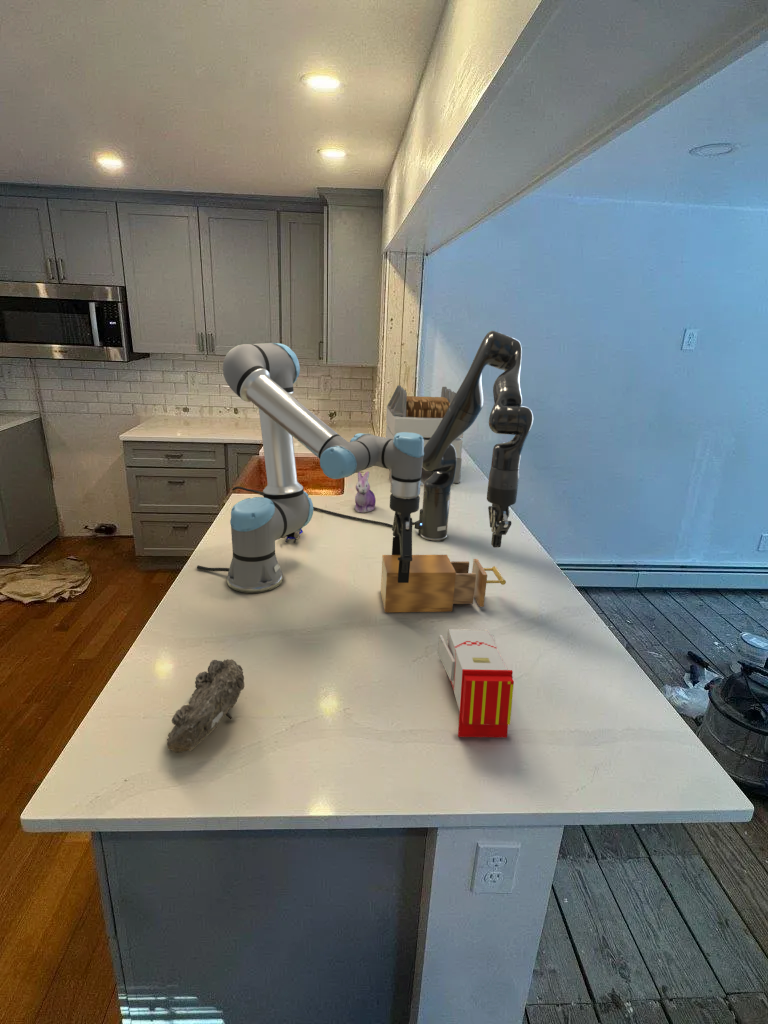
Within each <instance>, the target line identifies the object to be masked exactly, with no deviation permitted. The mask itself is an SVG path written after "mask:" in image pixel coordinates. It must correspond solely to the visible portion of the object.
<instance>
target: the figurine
mask: <svg viewBox="0 0 768 1024" xmlns="http://www.w3.org/2000/svg"><path fill="white" fill-rule="evenodd" d="M369 478H370V471H368V470H367V471H365V473H364V474H363V475H362V472H361V471H359V472H357V482H356V485H355V490H356V494H355V497H354V502H355V503H354V504H355V505H354V510H355V512H357V513H367V512H368V513H369V512H372V511H374V510H375V507H376V496H375V493H374V492H373V490H371V485H370V482H369Z"/></svg>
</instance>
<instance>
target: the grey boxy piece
mask: <svg viewBox="0 0 768 1024" xmlns="http://www.w3.org/2000/svg"><path fill="white" fill-rule="evenodd" d="M440 393H441V394H440V396H415V395H414V396H413V395H412V396H411V395H407V394H408V393H407V390H406V389H404V388H403V387H402V385H399V384H398V385H397V386H396V388H395V390H394V392H393V394H392V395H391V398H390V400H389V402H388V404H387V405H386V413H385V414H386V415H385V423H386V428H385V438H389V439H394V436H395V434H397V433H400V432H408V433H416V434H419V435H421V436H422V437H423V439H424V447H425V445H426V444H427V442H428V441H429V439H430V438H431V437H432V435H433V434H434V432H435V431H436V429H437V427H438V426H439V424H440V422H441V420H442V419H443V417H444V415H445V413H446V412H447V410H448V408H449V405H450V403H451V402H452V400H453V398H454V396H455V395H456V393H457V392H455V391H453V390H452V389H451V388H447V386H442V387H441V392H440ZM463 438H464V433H462V434H461V435H460V436H459V437H457V438H456V439H455V440H454V441H453V442H452V443H451V444H452V445H453V446H454V448H455V450H456V455H457V461H456V469H455V476H454V482H453V484H455V483H456V484H459V483H461V472H462V461H463V460H462V453H463V442H464V441H463V440H462V439H463ZM388 476H389V477H388V478H389V480H390V481H391V477H392V469H389V475H388Z"/></svg>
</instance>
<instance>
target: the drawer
mask: <svg viewBox="0 0 768 1024" xmlns="http://www.w3.org/2000/svg"><path fill="white" fill-rule="evenodd" d="M450 562H451V564H452V566H453V568H454V570H455V572H456V577H455V588H454V598H453V605H465V604H466V605H473V604H474V599H475V601H476V603H477V605H478V607H482V608H483V607H485V600H486V591H487V584H500V585H502V586H505V585H506V583H507V581H506V580H505V578H504V576H503V574H502V573H501V572H500V570H499V569H498V567H497V566H492V567H483V565H482V563H481V562H480V561H479V558H473V559H472V569H471V572H469V571H470V570H469V569H470V561H464V560H463V561H457V560H456V561H450ZM487 572H493V574H494V576H495V577H496V579H497V580H496V579H494V580H493V579H492V580H491V579H488V573H487Z"/></svg>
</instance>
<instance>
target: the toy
mask: <svg viewBox="0 0 768 1024" xmlns="http://www.w3.org/2000/svg"><path fill="white" fill-rule="evenodd" d="M446 640H447V643H446V641H445V639H444V636H443V635H442V634H439V637H438V646H437V656H438V657H439V659H440V661H441V663H442V666H443V668H444V670H445V672H446V674H447V677H448V679H449V681H450V684H451V687H452V690H453V693H454V697H455V701H456V705H457V708H458V711H459V714H458V715H459V716H458V730H457V731H458V732H457V737H458V738H508V731H509V726H510V725H511V717H512V707H513V697H514V696H513V695H514V684H515V680H514V679H513V673H514V671H513V670H512V669H508V667H507V665H506V662H505V661H504V659H503V658H502V655H501V653H500V651H499V649H498V647H497V643H496V639H495V637H494V635H493V634H491V632H490V631H489V629H467V628H466V629H465V628H463V629H461V628H460V629H459V628H448V630H447V639H446Z"/></svg>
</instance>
